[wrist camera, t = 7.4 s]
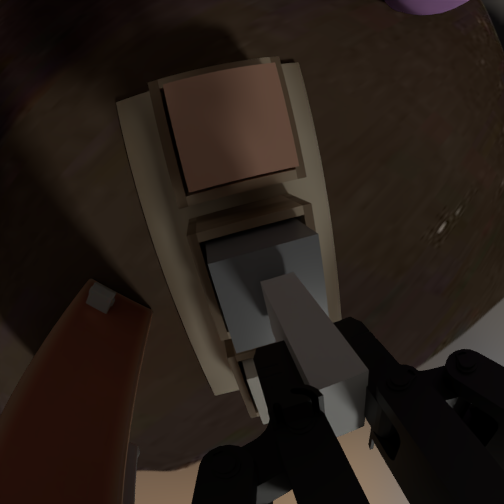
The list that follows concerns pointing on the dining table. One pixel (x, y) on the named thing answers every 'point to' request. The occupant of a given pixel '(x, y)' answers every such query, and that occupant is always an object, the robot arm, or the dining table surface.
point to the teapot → (424, 6)
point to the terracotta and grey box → (77, 407)
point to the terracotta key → (230, 125)
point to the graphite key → (262, 274)
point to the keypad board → (221, 214)
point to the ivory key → (256, 389)
